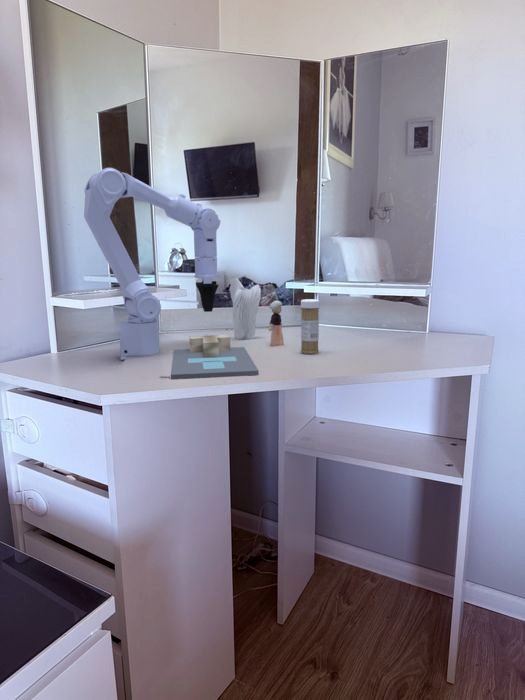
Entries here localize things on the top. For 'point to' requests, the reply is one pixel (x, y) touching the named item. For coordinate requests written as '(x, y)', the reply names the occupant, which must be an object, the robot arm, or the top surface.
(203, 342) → the maple T block
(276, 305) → the grandmother figurine
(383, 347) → the top surface
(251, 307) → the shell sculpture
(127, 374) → the top surface
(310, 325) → the sprinkles bottle
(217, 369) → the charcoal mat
